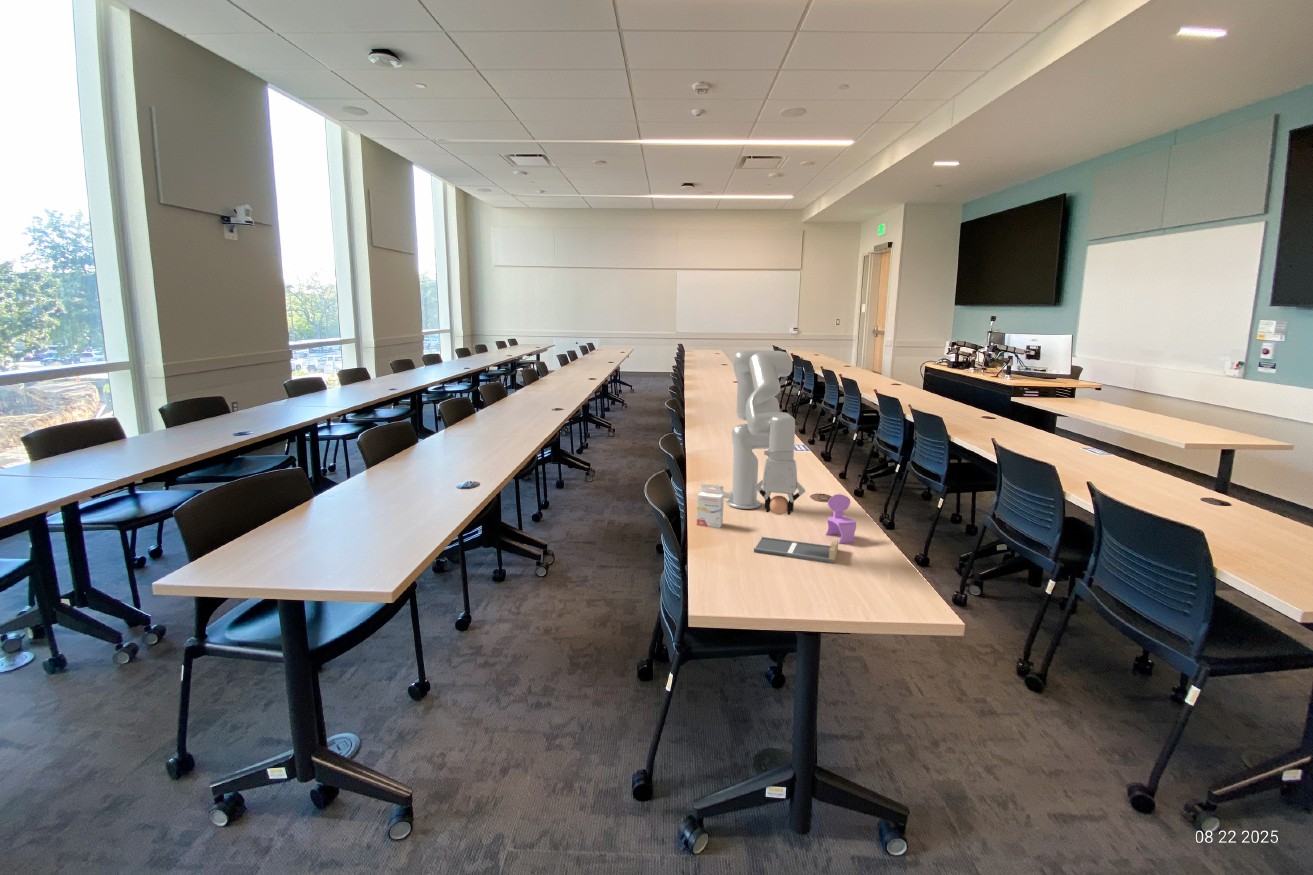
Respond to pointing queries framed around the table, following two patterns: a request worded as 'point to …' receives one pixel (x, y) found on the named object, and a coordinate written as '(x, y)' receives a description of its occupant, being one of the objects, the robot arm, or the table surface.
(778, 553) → the lane
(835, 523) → the toy chair
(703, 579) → the table surface
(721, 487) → the ink cartridge box
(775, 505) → the ball
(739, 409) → the robot arm
